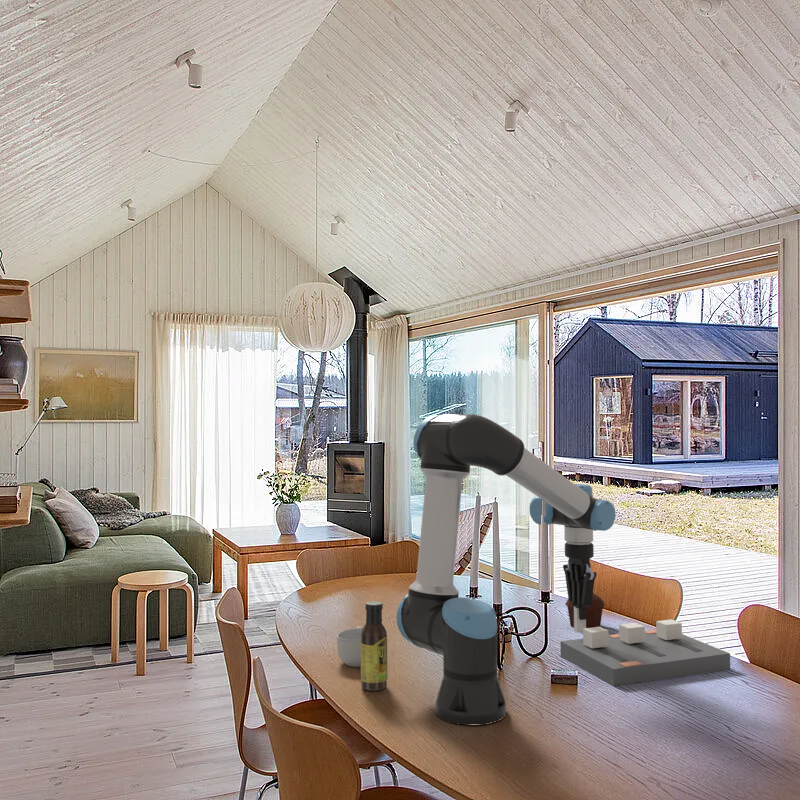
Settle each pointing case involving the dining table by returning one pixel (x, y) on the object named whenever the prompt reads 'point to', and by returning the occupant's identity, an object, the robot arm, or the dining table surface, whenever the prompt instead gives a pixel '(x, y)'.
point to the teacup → (350, 646)
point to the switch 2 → (669, 629)
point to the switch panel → (645, 658)
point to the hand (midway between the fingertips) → (580, 630)
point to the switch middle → (632, 633)
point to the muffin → (589, 612)
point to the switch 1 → (595, 637)
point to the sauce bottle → (373, 649)
